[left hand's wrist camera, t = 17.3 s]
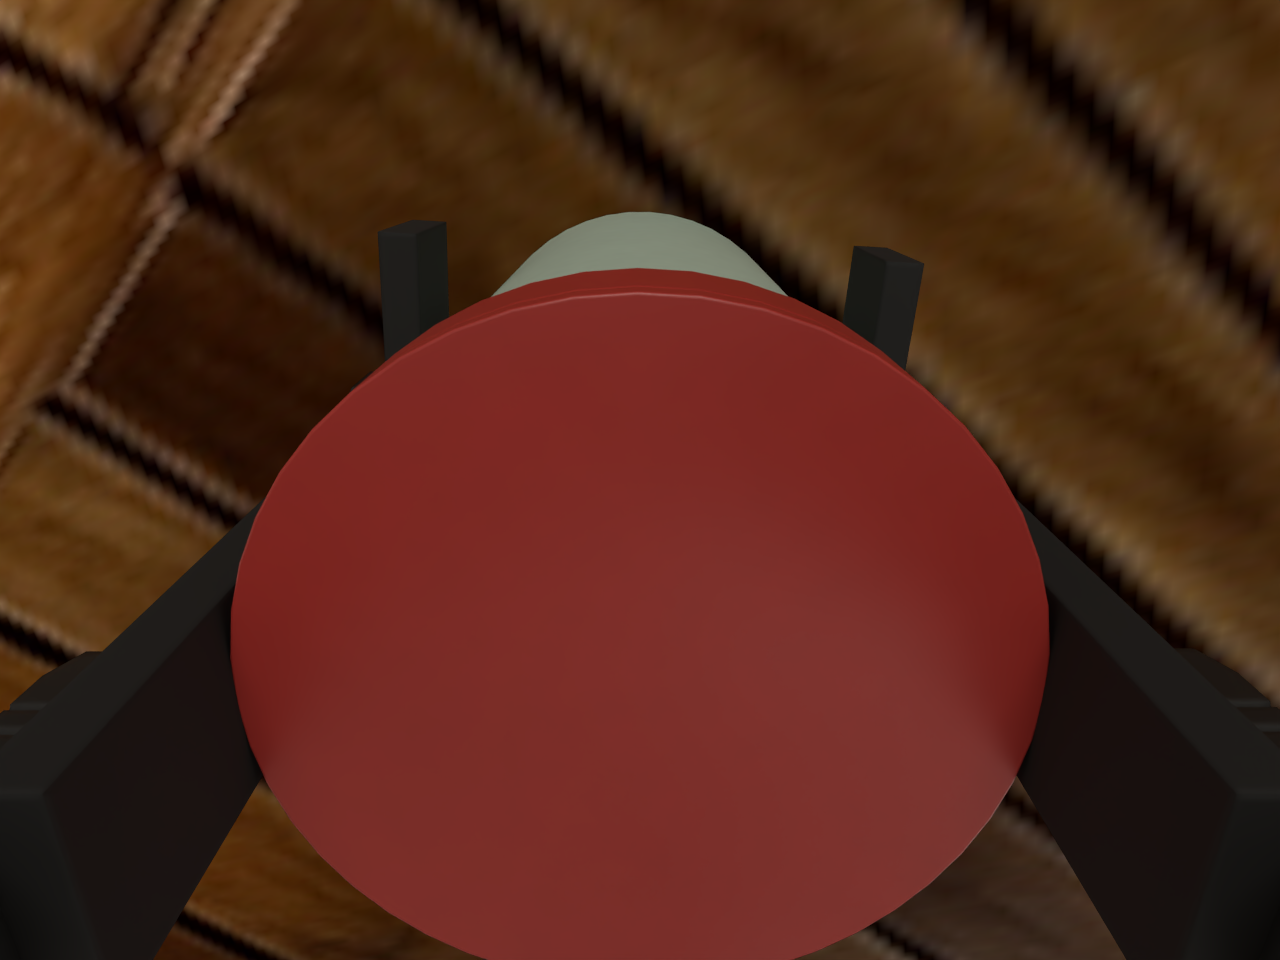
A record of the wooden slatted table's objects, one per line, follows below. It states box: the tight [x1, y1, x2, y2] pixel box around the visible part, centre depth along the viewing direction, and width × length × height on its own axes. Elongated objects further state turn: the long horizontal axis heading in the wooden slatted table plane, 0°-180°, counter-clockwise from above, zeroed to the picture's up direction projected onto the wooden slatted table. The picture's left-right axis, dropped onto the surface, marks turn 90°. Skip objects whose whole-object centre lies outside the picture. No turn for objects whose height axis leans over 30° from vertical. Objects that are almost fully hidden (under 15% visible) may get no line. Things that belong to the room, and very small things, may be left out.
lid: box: [230, 268, 1050, 960], centre depth 11 cm, size 10×10×2 cm
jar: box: [492, 212, 787, 297], centre depth 18 cm, size 9×9×16 cm
